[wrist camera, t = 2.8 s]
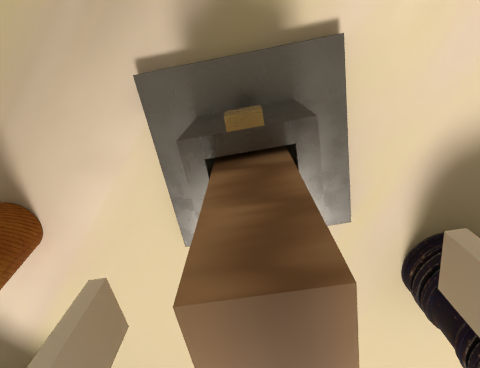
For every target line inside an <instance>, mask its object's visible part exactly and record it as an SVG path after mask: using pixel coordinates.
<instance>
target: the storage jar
mask: <svg viewBox="0 0 480 368" xmlns="http://www.w3.org/2000/svg"><path fill="white" fill-rule="evenodd" d="M443 239H444V233H440V234H437V235H434V236H432V237H429V238H427V239H425V240H424V241H422V242H420V243H419V244H418V245H417V246H415V247H414V248H413V249H412V250H411V251H410V253H409V254H408V255H407V257H406V258H405V260H404V263H403V265H402V270H401V275H402V280H403V282H404V284H405V286H406V287H407V288H408V290H409V291H410V292H411V294H412V295H413V297H414V299H415V301H416V303H417V304H418V305H419V307H420V308H421V309H422V311H423V312H424V313H425V315H426V317H427V318H428V319H429V320H430V321H431V322H432V323H433V325H435V326H436V327H437V328H438V329H440V330H441V331H442V332H443V334H444V335H445V337H446V338H447V339H448V341H449V342H450V343H451V345H452V346H453V347H454V349H455V352H456V355H457V357H458V359H459V361H460V363H461V365H462V366H463V368H480V338H479V337H478V335H477V334H476V333H475V332H474V331H473V329H472V328H471V327H470V326H469V325H468V323H467V322H466V321H465V320H464V319H463V318H462V316H461V315H460V314H459V313H458V312H457V310H456V309H455V308H454V307H453V306H452V305H451V303H450V302H449V301H448V300H447V299H446V297H445V296H444V295H443V294H442V293H441V291H440V290H439V289H438V284H439V275H440V266H441V257H442V248H443Z"/></svg>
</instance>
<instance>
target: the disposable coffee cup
mask: <svg viewBox="0 0 480 368" xmlns="http://www.w3.org/2000/svg"><path fill="white" fill-rule="evenodd" d="M42 236H43V232H42V227H41V224H40V222H39V221H38V219H37V218H36V217H35V216H34V215H33V214H32V213H31V212H30V211H28V210H27V209H25V208H24V207H22V206H19V205H16V204H13V203H0V290H1V288H3V286H4V285H5V284H6V283H7V282H8V281H9V279H10V278H11V277H12V275H13V274H14V273H15V272H16V271H17V269H18V268H19V267H20V266H21V265H22V264H23V262H24V261H25V260H26V259H27V257H28V256H29V255H30V254H31V253H32V252H33V250H34V249H35V248H36V247H37V246H38V245H39V243H40V242H41V240H42Z"/></svg>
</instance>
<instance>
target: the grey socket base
mask: <svg viewBox="0 0 480 368" xmlns="http://www.w3.org/2000/svg"><path fill="white" fill-rule="evenodd" d="M133 77H134V80H135V83H136V86H137V90H138V93H139V96H140V100H141V103H142V106H143V109H144V113H145V116H146V119H147V122H148V126H149V129H150V132H151V136H152V139H153V142H154V145H155V149H156V152H157V155H158V158H159V162H160V165H161V168H162V172H163V175H164V178H165V181H166V185H167V188H168V191H169V194H170V198H171V201H172V204H173V207H174V211H175V214H176V217H177V221H178V224H179V227H180V230H181V234H182V237H183V240H184V243H185V247H189V246H191V242H192V239H193V235H194V232H195V228H196V225H197V221H198V218H199V214H200V211H201V207H202V204H203V200H204V197H205V193H206V190H207V186H208V183H209V179H210V176H211V172H212V169H213V165H214V162H215V158H216V157H221V156H226V155H232V154H238V153H244V152H249V151H255V150H261V149H267V148H272V147H278V146H284V145H286V147H287V149H288V151H289V153H290V155H291V157H292V159H293V161H294V163H295V165H296V167H297V169H298V171H299V173H300V175H301V177H302V178H303V180H304V182H305V184H306V186H307V188H308V190H309V192H310V194H311V196H312V198H313V200H314V202H315V204H316V206H317V208H318V209H319V211H320V213H321V215H322V217H323V219H324V221H325V223H326V225H327V226H329V225H335V224H342V223H349V222H351V206H350V180H349V154H348V128H347V103H346V77H345V51H344V33H342V34H337V35H332V36H327V37H322V38H317V39H312V40H307V41H302V42H297V43H292V44H287V45H282V46H277V47H272V48H267V49H262V50H257V51H252V52H247V53H242V54H237V55H232V56H227V57H222V58H217V59H212V60H207V61H202V62H197V63H192V64H187V65H182V66H177V67H172V68H167V69H162V70H157V71H152V72H147V73H142V74H138V75H133Z"/></svg>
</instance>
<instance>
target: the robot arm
mask: <svg viewBox="0 0 480 368" xmlns="http://www.w3.org/2000/svg"><path fill="white" fill-rule="evenodd" d="M438 289H439V290H440V291H441V293H442V294H443V295H444V296H445V297H446V299H447V300H448V301H449V302H450V303H451V305H452V306H453V307H454V308H455V309H456V310H457V312H458V313H459V314H460V315H461V316H462V318H463V319H464V320H465V321H466V322H467V323H468V325H469V326H470V327H471V328H472V329H473V331H474V332H475V333H476V334H477V335H478V337H479V338H480V238H479V237H478V236H476V235H475V234H474V233H472V232H471V231H470V230H469V229H467V228H462V229H455V230H448V231H444V239H443V248H442V257H441V266H440V275H439V284H438ZM128 327H129V326H128V324H127V322H126V319H125V317H124V315H123V313H122V311H121V309H120V306H119V304H118V302H117V300H116V298H115V296H114V293H113V291H112V289H111V287H110V285H109V283H108V281H107V278H102V279H95V280H89V281H88V282H87V283H86V285H85V286H84V288H83V289H82V290H81V292H80V293H79V295H78V296H77V297H76V299H75V300H74V302H73V303H72V304H71V306H70V307H69V309H68V310H67V312H66V313H65V314H64V316H63V317H62V319H61V320H60V321H59V323H58V324H57V326H56V327H55V328H54V330H53V331H52V333H51V334H50V335H49V337H48V338H47V340H46V341H45V343H44V344H43V345H42V347H41V348H40V350H39V351H38V352H37V354H36V355H35V357H34V358H33V359H32V361H31V362H30V364H29V365H28V366H27V368H111V366H112V364H113V361H114V359H115V357H116V354H117V352H118V350H119V348H120V345H121V343H122V341H123V338H124V336H125V334H126V331H127V329H128Z"/></svg>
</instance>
